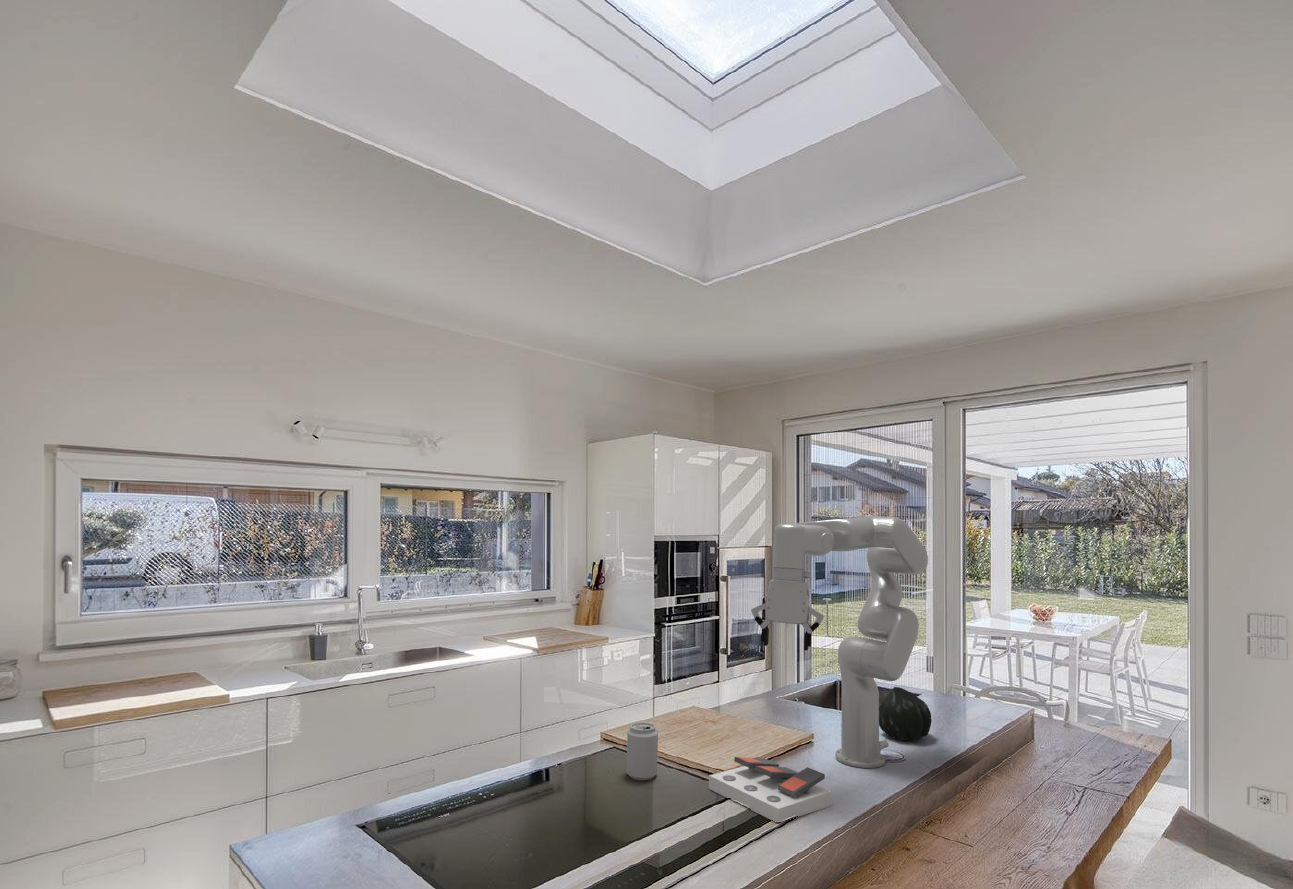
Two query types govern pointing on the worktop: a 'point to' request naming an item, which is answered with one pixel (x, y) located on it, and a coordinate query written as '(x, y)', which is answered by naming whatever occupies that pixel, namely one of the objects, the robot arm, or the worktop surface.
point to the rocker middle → (776, 771)
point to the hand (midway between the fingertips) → (785, 647)
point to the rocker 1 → (755, 762)
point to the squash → (904, 715)
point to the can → (642, 751)
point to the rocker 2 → (801, 782)
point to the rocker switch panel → (767, 794)
